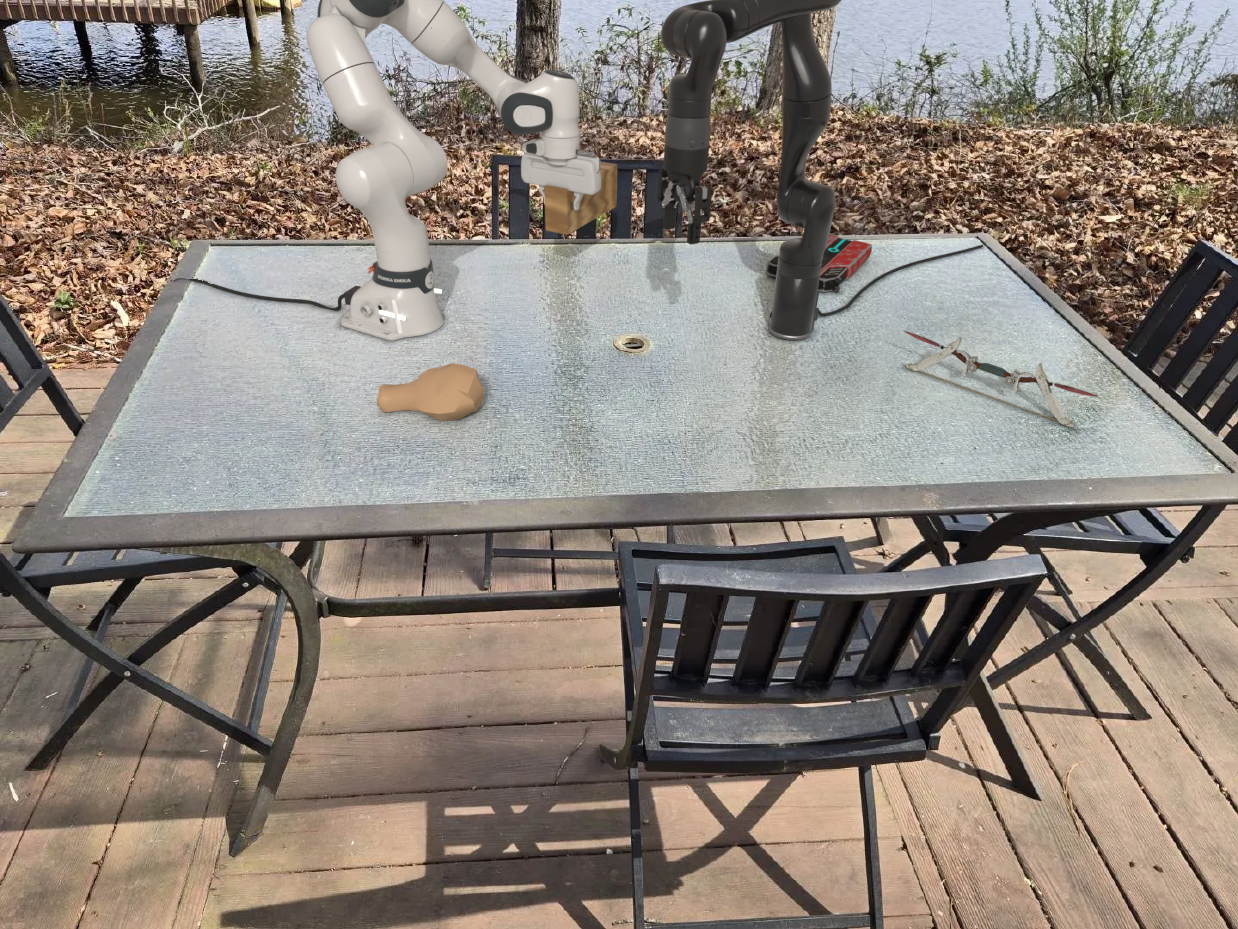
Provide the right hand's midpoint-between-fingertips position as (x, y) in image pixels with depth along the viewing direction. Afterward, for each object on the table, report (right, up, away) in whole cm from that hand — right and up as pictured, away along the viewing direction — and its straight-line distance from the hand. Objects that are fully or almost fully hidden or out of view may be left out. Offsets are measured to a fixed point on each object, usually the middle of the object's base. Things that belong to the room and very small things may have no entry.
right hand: (680, 235), depth 157 cm
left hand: (-25, +21, +52) cm, 61 cm away
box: (-20, +21, +63) cm, 69 cm away
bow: (+62, -27, +17) cm, 70 cm away
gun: (+42, +10, +73) cm, 84 cm away
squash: (-46, -31, +7) cm, 56 cm away
